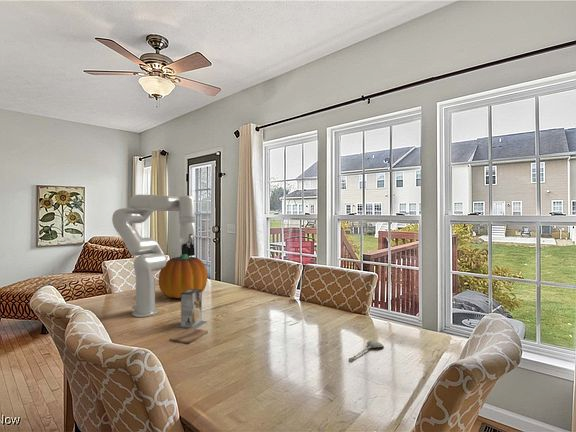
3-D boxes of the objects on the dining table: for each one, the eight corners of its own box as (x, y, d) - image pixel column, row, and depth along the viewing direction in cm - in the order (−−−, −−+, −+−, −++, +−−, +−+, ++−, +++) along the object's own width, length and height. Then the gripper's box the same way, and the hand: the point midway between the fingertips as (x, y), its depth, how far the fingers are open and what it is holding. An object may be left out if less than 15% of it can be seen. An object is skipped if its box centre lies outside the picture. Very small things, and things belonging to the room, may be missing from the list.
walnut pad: (169, 340, 132) (169, 338, 132) (189, 329, 145) (189, 328, 145) (189, 344, 129) (189, 342, 129) (207, 332, 141) (207, 331, 141)
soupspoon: (386, 349, 128) (372, 345, 133) (386, 340, 128) (372, 336, 133) (357, 365, 112) (342, 360, 117) (357, 355, 113) (342, 350, 117)
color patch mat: (174, 326, 149) (174, 325, 149) (189, 319, 159) (189, 318, 159) (193, 329, 145) (193, 329, 145) (207, 321, 155) (207, 321, 155)
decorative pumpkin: (194, 288, 225) (194, 246, 225) (215, 296, 203) (215, 250, 203) (152, 295, 205) (152, 249, 204) (170, 305, 183) (170, 254, 183)
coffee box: (190, 320, 157) (190, 288, 157) (202, 321, 156) (202, 288, 156) (180, 326, 148) (180, 292, 148) (192, 327, 147) (192, 293, 147)
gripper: (174, 221, 160) (175, 254, 160) (185, 220, 146) (186, 257, 146) (188, 220, 164) (189, 253, 164) (200, 220, 150) (201, 255, 150)
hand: (188, 255), depth 155 cm, fingers open, 9 cm apart
